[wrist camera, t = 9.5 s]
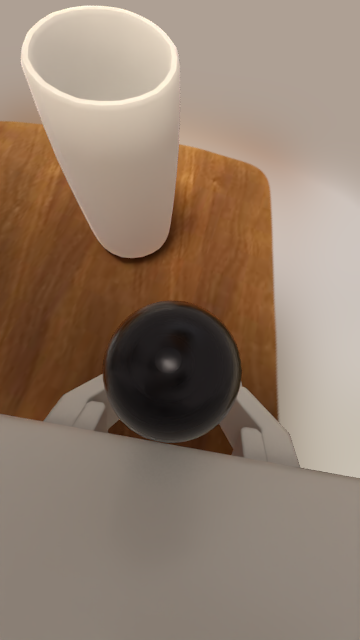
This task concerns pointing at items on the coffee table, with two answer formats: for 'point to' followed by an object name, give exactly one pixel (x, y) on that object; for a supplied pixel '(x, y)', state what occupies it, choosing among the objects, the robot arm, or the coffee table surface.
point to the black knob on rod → (172, 371)
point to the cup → (110, 118)
